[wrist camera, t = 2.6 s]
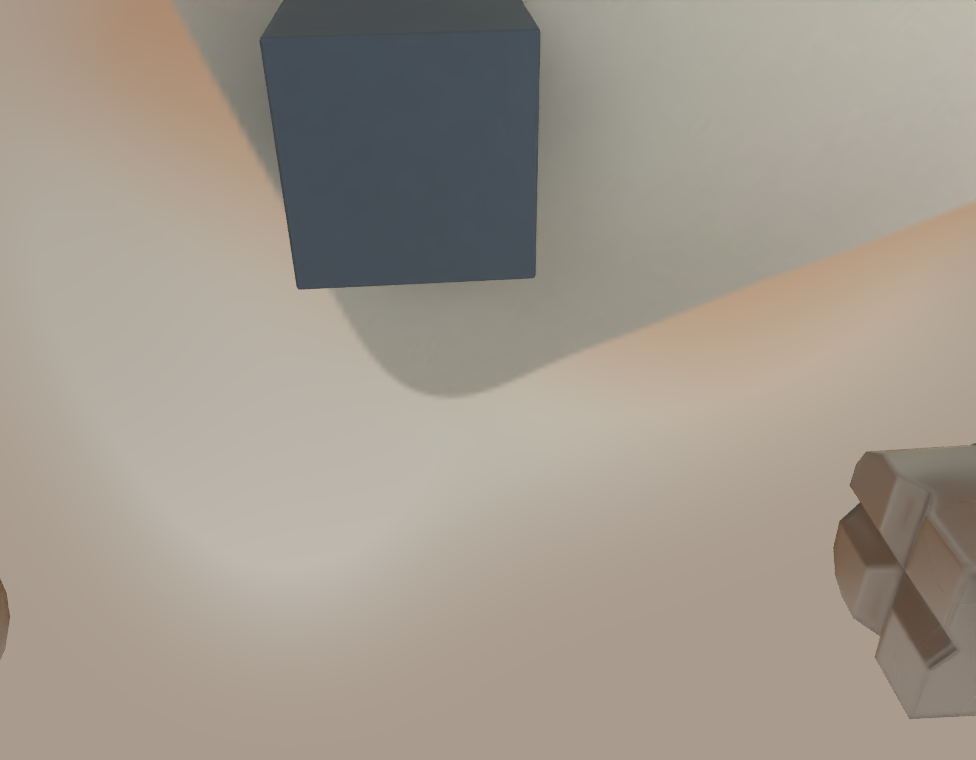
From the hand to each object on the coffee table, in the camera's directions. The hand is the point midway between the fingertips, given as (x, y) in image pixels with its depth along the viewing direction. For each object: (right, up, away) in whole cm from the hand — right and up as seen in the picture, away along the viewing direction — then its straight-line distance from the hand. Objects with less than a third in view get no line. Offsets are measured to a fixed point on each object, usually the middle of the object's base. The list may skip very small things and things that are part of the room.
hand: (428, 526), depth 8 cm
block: (-1, +8, +13) cm, 15 cm away
